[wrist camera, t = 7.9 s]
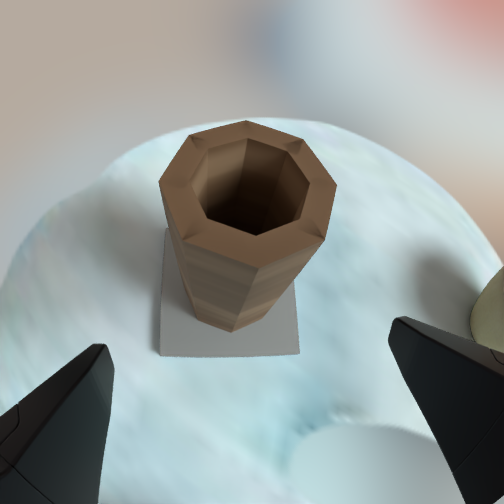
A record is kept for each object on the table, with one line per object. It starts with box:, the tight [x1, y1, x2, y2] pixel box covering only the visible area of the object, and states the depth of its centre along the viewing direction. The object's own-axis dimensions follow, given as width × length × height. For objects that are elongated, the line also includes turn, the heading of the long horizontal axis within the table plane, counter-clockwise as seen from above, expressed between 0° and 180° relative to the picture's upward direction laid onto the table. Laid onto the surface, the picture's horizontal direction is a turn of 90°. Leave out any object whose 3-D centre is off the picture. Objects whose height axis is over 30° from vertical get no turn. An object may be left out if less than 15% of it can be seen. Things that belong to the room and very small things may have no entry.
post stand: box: [160, 228, 300, 357], centre depth 20 cm, size 10×10×5 cm
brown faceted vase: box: [158, 120, 337, 333], centre depth 16 cm, size 6×6×13 cm
